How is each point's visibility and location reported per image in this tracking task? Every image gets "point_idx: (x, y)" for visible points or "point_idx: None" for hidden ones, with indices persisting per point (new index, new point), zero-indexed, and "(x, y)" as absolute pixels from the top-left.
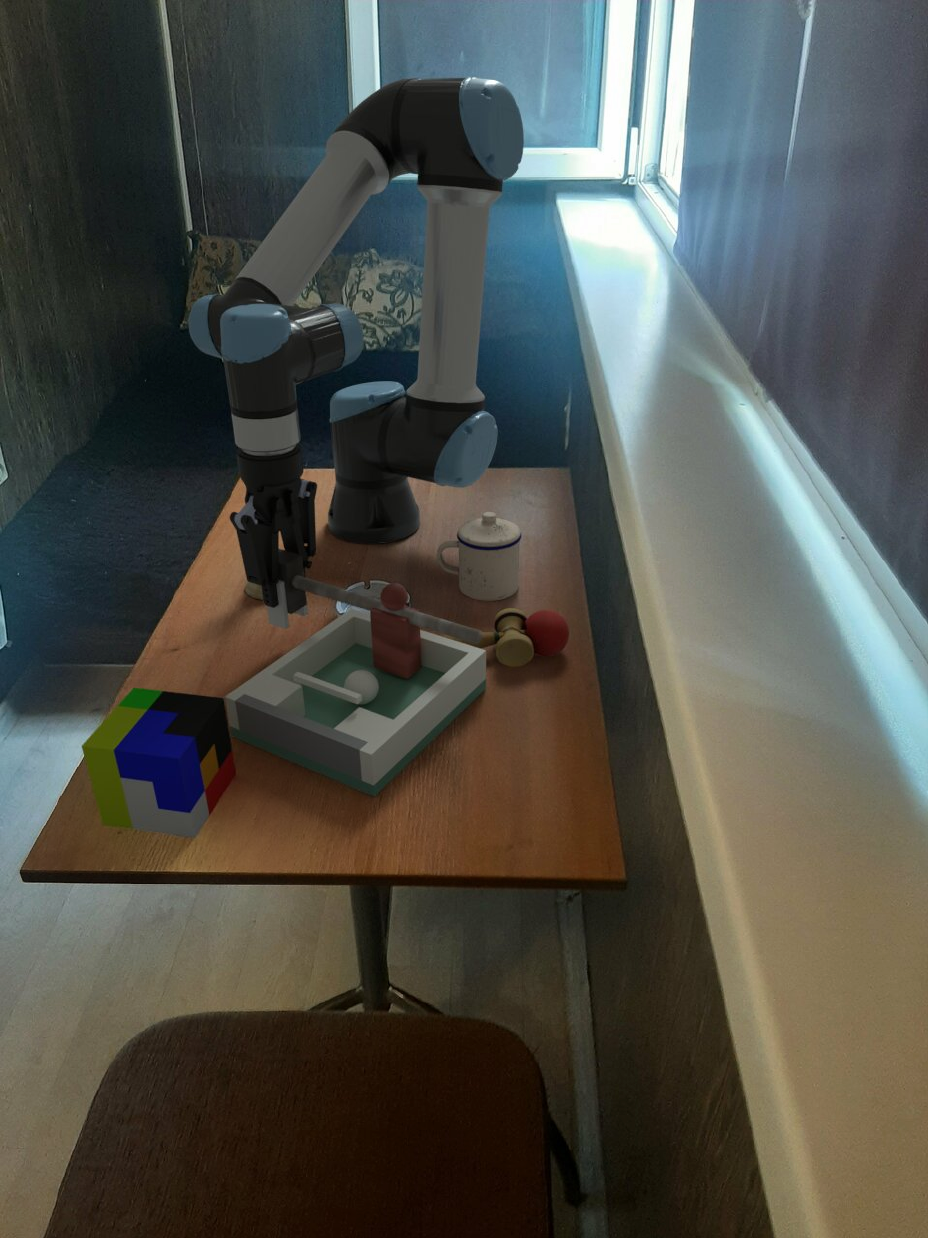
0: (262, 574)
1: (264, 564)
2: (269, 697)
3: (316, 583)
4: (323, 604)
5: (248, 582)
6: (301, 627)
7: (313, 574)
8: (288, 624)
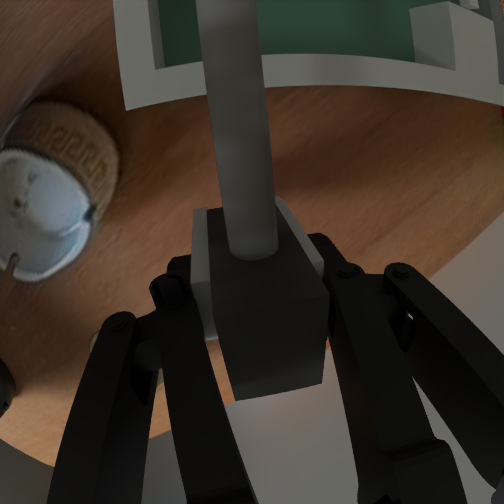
0: (426, 289)
1: (430, 317)
2: (488, 39)
3: (254, 144)
4: (96, 269)
5: (163, 381)
6: (174, 237)
7: (67, 343)
8: None
